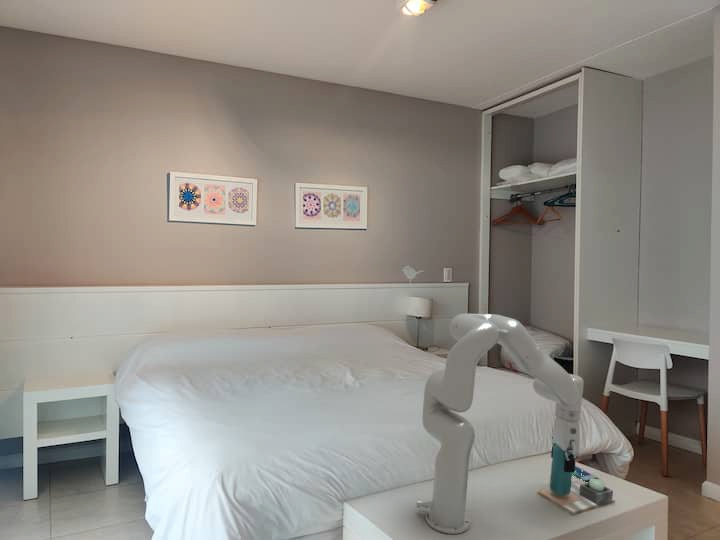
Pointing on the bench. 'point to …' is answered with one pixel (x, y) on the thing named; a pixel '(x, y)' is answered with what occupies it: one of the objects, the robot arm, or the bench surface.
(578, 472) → the smartphone
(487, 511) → the bench surface
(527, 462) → the bench surface
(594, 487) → the button
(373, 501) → the bench surface
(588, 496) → the wooden tray
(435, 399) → the robot arm
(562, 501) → the terracotta square
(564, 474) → the beverage bottle
